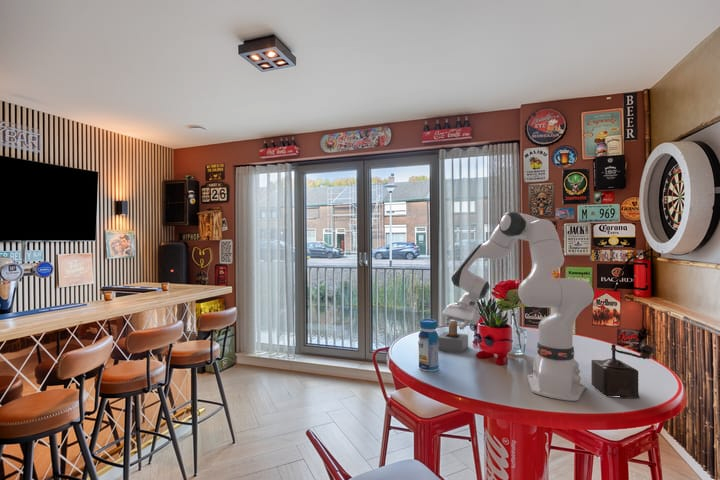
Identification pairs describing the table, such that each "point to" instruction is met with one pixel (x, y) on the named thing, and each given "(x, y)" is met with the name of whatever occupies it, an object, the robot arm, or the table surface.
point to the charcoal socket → (453, 342)
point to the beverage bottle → (428, 345)
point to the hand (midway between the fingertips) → (453, 326)
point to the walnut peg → (453, 329)
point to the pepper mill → (618, 374)
